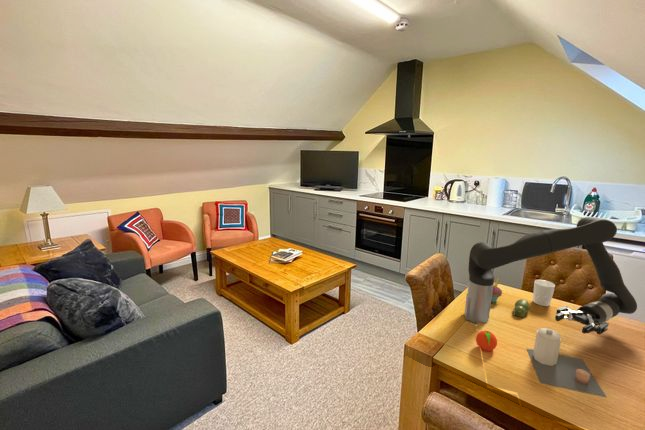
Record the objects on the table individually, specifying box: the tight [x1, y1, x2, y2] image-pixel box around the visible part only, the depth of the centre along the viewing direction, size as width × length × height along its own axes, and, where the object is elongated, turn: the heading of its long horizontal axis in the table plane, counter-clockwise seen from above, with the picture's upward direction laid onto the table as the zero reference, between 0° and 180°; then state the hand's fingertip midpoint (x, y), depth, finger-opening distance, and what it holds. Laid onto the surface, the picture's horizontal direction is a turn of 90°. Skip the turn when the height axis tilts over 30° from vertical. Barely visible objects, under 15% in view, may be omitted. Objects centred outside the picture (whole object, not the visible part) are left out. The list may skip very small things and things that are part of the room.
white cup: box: [532, 279, 556, 307], centre depth 149 cm, size 8×8×10 cm
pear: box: [512, 299, 531, 318], centre depth 142 cm, size 6×5×10 cm
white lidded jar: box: [533, 327, 562, 366], centre depth 110 cm, size 6×6×11 cm
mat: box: [525, 348, 607, 398], centre depth 106 cm, size 17×18×1 cm
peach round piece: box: [575, 369, 590, 385], centre depth 101 cm, size 3×3×3 cm
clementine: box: [475, 330, 498, 352], centre depth 116 cm, size 8×7×7 cm
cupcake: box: [491, 277, 503, 303], centre depth 152 cm, size 9×8×12 cm
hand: (569, 324), depth 114 cm, fingers open, 8 cm apart
